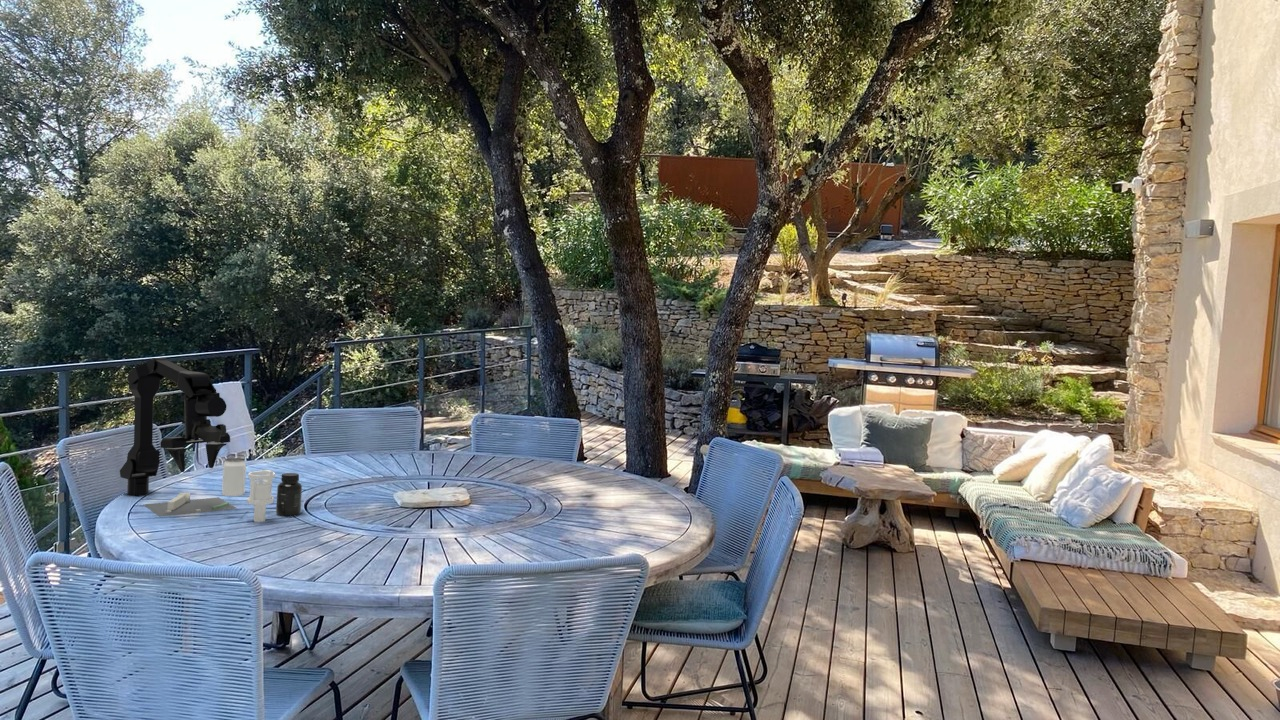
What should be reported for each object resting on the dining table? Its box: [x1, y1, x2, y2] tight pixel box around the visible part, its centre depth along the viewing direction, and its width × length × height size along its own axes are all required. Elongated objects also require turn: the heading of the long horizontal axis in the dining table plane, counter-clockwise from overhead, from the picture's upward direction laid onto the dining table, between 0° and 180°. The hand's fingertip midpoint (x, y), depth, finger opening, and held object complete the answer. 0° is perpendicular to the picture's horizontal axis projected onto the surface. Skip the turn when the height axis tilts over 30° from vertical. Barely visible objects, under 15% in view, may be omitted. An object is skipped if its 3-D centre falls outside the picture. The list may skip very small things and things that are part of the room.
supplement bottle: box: [275, 472, 303, 517], centre depth 256 cm, size 7×7×12 cm
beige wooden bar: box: [167, 492, 191, 510], centre depth 252 cm, size 13×3×2 cm, turn 10°
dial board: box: [142, 497, 238, 518], centre depth 252 cm, size 16×21×2 cm
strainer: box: [246, 469, 276, 523], centre depth 246 cm, size 7×7×15 cm
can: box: [221, 457, 247, 497], centre depth 271 cm, size 6×6×12 cm
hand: (197, 470), depth 248 cm, fingers open, 9 cm apart
